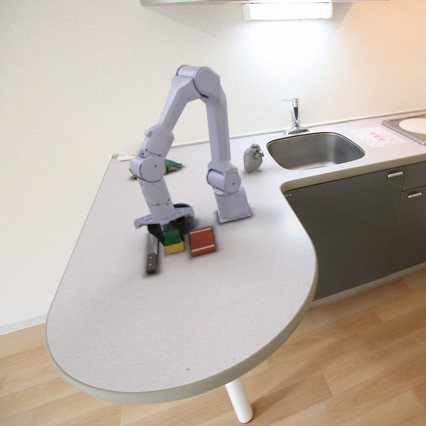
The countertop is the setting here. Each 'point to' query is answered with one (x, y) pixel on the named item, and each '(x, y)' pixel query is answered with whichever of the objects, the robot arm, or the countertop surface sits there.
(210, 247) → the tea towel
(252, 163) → the heart
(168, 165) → the green clog
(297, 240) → the countertop surface
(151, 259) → the knife
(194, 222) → the pot
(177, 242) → the sponge
